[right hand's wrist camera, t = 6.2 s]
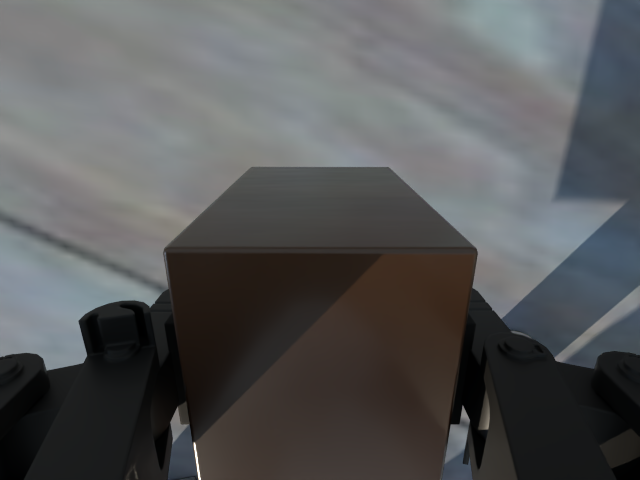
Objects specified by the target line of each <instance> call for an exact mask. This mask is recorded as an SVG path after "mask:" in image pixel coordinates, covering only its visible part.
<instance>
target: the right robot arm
mask: <svg viewBox="0 0 640 480" xmlns="http://www.w3.org/2000/svg"><path fill="white" fill-rule="evenodd" d="M79 325H80V329H81V333H82V336H83V340H84V344H85V348H86V352H87V357H86V359H85V361H84V363H82V364H78V365H74V366H68V367H63V368H58V369H53V370H48V371H46V367H45V364H44V361H43V358H41V357H40V356H39V355H37V354H31V353H22V354H12V355H7V356H5V357H0V480H167V478H168V471H169V463H170V455H171V448H172V440H173V437H172V430H171V424H170V421H171V419H172V417H173V415H174V413H175V411H176V409H177V407H178V410H179V416H180V422H181V424H190V423H189V416H188V410H187V403H186V397H185V390H184V384H183V377H182V371H181V364H180V358H179V351H178V345H177V338H176V332H175V325H174V319H173V312H172V306H171V300H170V293H169V289H168V290H166V291H164V292H163V293H162V294H161V295H160V297H159V298H158V299H157V300H156V301H155V304H153V305H152V306H151V307H149V306H148V305H147V304H145V303H144V302H139V301H119V302H114V303H109V304H106V305H103V306H101V307H98V308H95V309H94V310H92V311H90V312H88V313H87V314H85V315H84V316H83V317H82V318H81V319H80V320H79ZM462 406H464V408H465V410H466V413H467V415H468V417H469V419H470V424H469V430H468V435H467V441H466V446H465V452H464V458H463V464H467V465H468V462H469V457H470V462H471V470H472V477H473V480H640V355H636V354H633V353H626V352H617V351H612V352H605V353H603V354H601V355H600V356H599V357H598V359H597V362H596V365H595V368H594V369H591V368H586V367H581V366H575V365H570V364H565V363H561V362H557V361H555V359H554V357H553V355H552V354H551V353H550V351H549V350H548V349H547V348H546V347H545V346H543V345H542V344H540V343H539V342H537V341H536V340H533V339H531V338H529V337H526V336H524V335H519V334H515V333H512V332H511V331H510V329H509V328H508V327H507V326H506V325H505V323H504V322H503V321H502V320H501V319H500V317H499V316H498V315H497V314H496V313H495V312H494V311H492V308H491V307H490V306H489V304H488V303H487V302H485V300H484V298H483V297H482V296H481V295H480V294H479V292H478V291H476V290H475V289H473V288H472V292H471V299H470V305H469V311H468V317H467V324H466V330H465V336H464V343H463V349H462V355H461V361H460V368H459V374H458V380H457V387H456V393H455V399H454V406H453V412H452V418H451V424H459V423H460V417H461V412H462Z"/></svg>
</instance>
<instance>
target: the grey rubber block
mask: <svg viewBox="0 0 640 480" xmlns="http://www.w3.org/2000/svg"><path fill="white" fill-rule="evenodd" d="M178 480H196V478H195V477H189V478H183V479H178Z"/></svg>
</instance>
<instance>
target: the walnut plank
mask: <svg viewBox="0 0 640 480" xmlns="http://www.w3.org/2000/svg"><path fill="white" fill-rule="evenodd" d="M163 254H164V261H165V267H166V274H167V280H168V287H169V293H170V300H171V306H172V312H173V319H174V325H175V332H176V338H177V345H178V351H179V358H180V364H181V371H182V377H183V384H184V390H185V397H186V403H187V410H188V416H189V423H190V429H191V436H192V442H193V449H194V455H195V461H196V468H197V474H198V480H442V475H443V468H444V462H445V456H446V450H447V443H448V437H449V431H450V424H451V418H452V412H453V406H454V399H455V393H456V387H457V380H458V374H459V368H460V361H461V355H462V349H463V343H464V336H465V330H466V324H467V317H468V311H469V305H470V299H471V292H472V286H473V280H474V273H475V267H476V261H477V255H478V252H477V249H476V248H475V247H474V246H473V245H472V244H471V243H470V242H469V241H468V240H467V239H466V238H465V237H464V236H462V235H461V234H460V233H459V232H458V231H457V230H456V229H455V228H454V227H453V226H452V225H451V224H450V223H448V222H447V221H446V220H445V219H444V218H443V217H442V216H441V215H440V214H439V213H438V212H437V211H435V210H434V209H433V208H432V207H431V206H430V205H429V204H428V203H427V202H426V201H425V200H424V199H423V198H421V197H420V196H419V195H418V194H417V193H416V192H415V191H414V190H413V189H412V188H411V187H410V186H409V185H407V184H406V183H405V182H404V181H403V180H402V179H401V178H400V177H399V176H398V175H397V174H396V173H394V172H393V171H392V170H391V169H390V168H388V167H251V168H250V169H249V170H248V171H247V172H245V173H244V174H243V175H242V176H241V177H240V178H239V179H238V180H237V181H236V182H235V183H234V184H233V185H232V186H230V187H229V188H228V189H227V190H226V191H225V192H224V193H223V194H222V195H221V196H220V197H219V198H218V199H217V200H215V201H214V202H213V203H212V204H211V205H210V206H209V207H208V208H207V209H206V210H205V211H204V212H203V213H202V214H201V215H199V216H198V217H197V218H196V219H195V220H194V221H193V222H192V223H191V224H190V225H189V226H188V227H187V228H186V229H184V230H183V231H182V232H181V233H180V234H179V235H178V236H177V237H176V238H175V239H174V240H173V241H172V242H171V243H169V244H168V245H167V246H166V247H165V248H164V252H163Z"/></svg>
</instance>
